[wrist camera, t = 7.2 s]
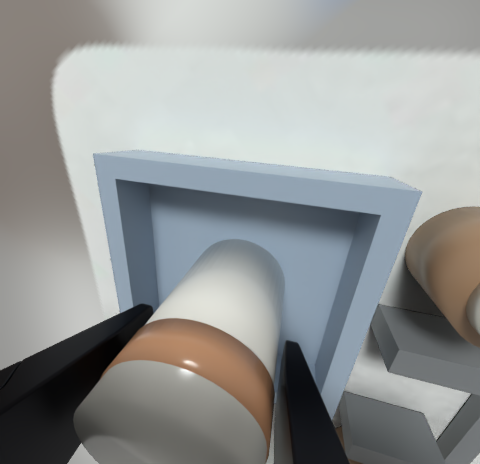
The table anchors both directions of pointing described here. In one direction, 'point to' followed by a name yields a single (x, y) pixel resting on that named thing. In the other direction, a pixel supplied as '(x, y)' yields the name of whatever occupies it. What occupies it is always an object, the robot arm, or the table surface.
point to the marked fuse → (195, 369)
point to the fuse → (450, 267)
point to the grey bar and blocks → (421, 368)
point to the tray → (261, 241)
